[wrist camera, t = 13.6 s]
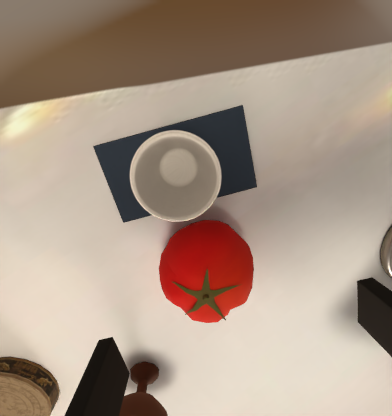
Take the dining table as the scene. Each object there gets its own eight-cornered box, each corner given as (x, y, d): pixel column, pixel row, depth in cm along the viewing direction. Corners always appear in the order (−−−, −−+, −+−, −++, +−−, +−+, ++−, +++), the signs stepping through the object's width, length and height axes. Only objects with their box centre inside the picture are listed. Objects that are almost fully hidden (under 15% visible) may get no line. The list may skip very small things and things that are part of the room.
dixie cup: (220, 174, 29) (238, 189, 19) (172, 208, 30) (167, 238, 20) (185, 121, 27) (186, 108, 17) (134, 160, 28) (109, 168, 18)
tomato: (155, 218, 31) (141, 254, 21) (237, 205, 31) (263, 234, 21) (171, 292, 35) (167, 353, 25) (244, 280, 35) (269, 335, 25)
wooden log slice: (76, 385, 40) (68, 403, 37) (28, 427, 42) (17, 447, 39) (-2, 342, 36) (-18, 360, 33) (-49, 392, 38) (-68, 412, 35)
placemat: (242, 105, 27) (242, 105, 26) (256, 186, 30) (256, 187, 30) (94, 146, 27) (93, 146, 27) (124, 221, 31) (123, 222, 30)
